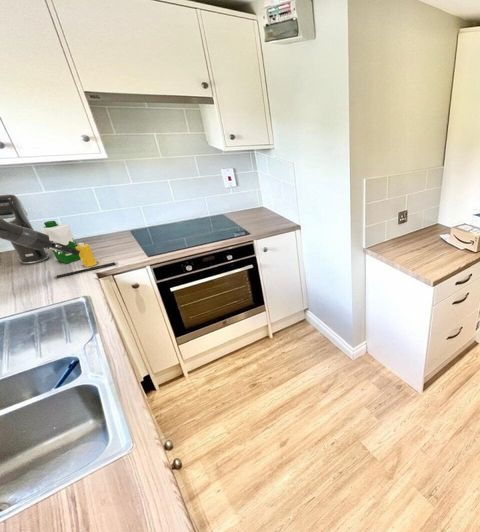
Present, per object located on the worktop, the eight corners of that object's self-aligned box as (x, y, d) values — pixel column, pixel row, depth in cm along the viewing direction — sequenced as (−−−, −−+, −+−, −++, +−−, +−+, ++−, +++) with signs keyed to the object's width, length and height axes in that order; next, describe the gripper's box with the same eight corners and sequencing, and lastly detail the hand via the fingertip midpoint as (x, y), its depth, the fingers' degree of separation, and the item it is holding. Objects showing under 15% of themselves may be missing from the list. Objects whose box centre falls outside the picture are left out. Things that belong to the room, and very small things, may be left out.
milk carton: (75, 254, 169) (57, 218, 160) (86, 257, 167) (69, 221, 157) (54, 261, 162) (35, 224, 152) (66, 264, 159) (47, 226, 150)
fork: (57, 276, 149) (56, 275, 149) (114, 263, 162) (114, 262, 162) (57, 278, 147) (56, 277, 147) (115, 264, 160) (115, 263, 160)
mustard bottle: (84, 264, 160) (73, 243, 155) (96, 261, 163) (87, 240, 158) (84, 267, 157) (74, 246, 152) (97, 264, 160) (87, 243, 155)
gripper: (45, 232, 136) (87, 246, 152) (23, 228, 140) (66, 242, 155) (35, 248, 134) (79, 261, 149) (13, 243, 138) (57, 257, 153)
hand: (72, 251), depth 152 cm, fingers open, 8 cm apart
